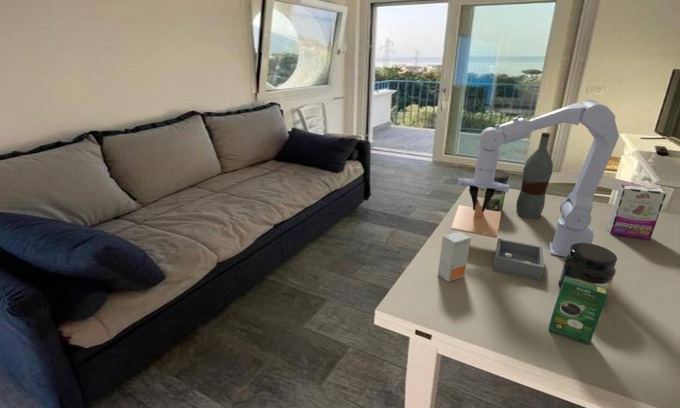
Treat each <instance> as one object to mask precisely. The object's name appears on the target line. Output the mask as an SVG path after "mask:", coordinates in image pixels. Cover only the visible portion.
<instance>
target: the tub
mask: <svg viewBox="0 0 680 408" xmlns="http://www.w3.org/2000/svg"><path fill="white" fill-rule="evenodd" d="M544 269H545V261H544V249H543V246H541V245H536V244H530V243H529V244H528V243H525V242H519V241H513V240H509V239H504V238H498V237H497V243H496V247H495V253H494V260H493V266H492V270H494V271H498V272H502V273H506V274H511V275H515V276H520V277H525V278H530V279H534V280H537V281H542V277H543V273H544Z"/></svg>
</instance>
